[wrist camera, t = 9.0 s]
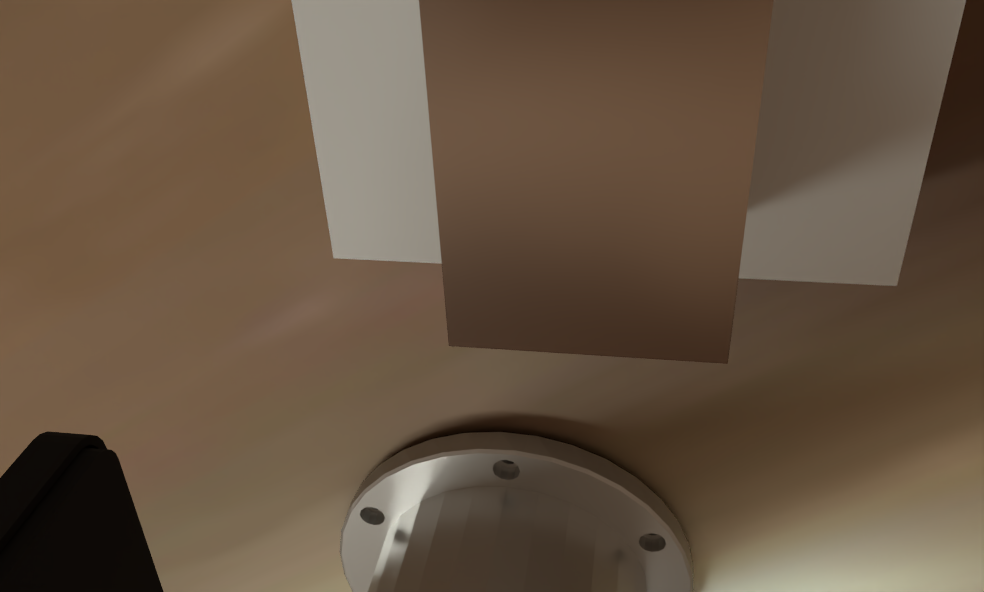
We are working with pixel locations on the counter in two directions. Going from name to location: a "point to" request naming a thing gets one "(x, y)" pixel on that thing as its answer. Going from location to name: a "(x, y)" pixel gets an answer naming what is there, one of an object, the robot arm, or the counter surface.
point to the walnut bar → (593, 170)
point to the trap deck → (778, 150)
